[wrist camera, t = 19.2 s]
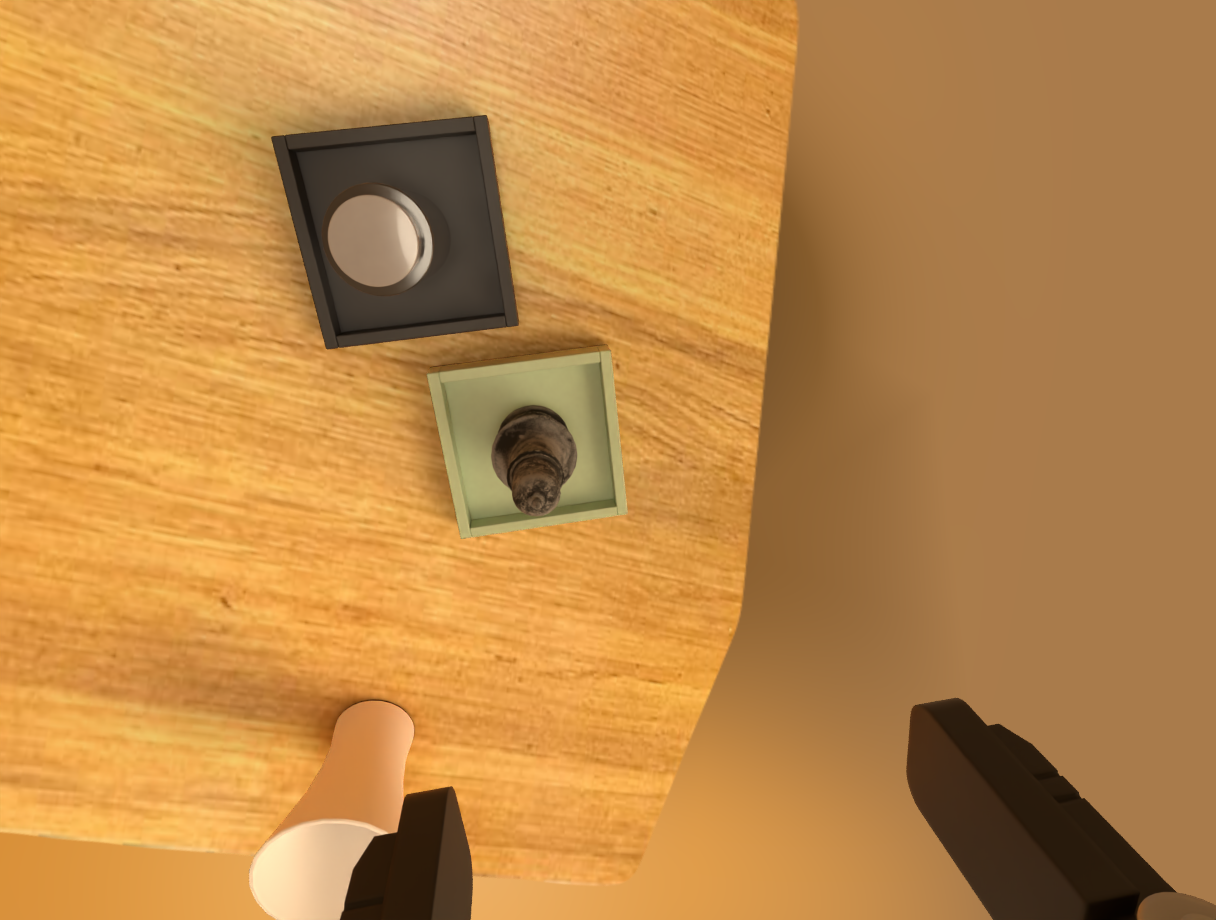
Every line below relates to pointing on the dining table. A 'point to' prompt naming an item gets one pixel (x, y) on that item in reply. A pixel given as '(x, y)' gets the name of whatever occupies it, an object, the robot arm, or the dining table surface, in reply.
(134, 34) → the dining table surface
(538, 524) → the light tray
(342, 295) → the dark tray
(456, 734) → the dining table surface
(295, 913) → the cup
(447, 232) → the brown jar with lid
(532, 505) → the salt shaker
